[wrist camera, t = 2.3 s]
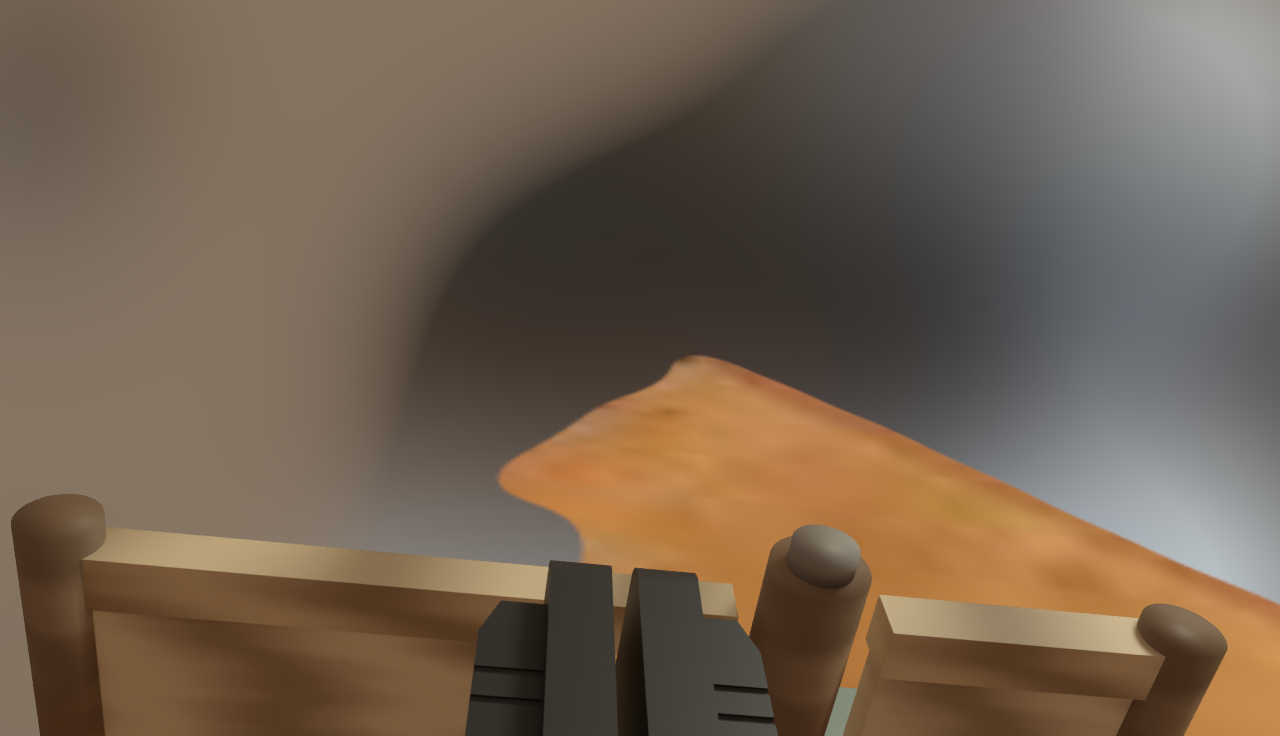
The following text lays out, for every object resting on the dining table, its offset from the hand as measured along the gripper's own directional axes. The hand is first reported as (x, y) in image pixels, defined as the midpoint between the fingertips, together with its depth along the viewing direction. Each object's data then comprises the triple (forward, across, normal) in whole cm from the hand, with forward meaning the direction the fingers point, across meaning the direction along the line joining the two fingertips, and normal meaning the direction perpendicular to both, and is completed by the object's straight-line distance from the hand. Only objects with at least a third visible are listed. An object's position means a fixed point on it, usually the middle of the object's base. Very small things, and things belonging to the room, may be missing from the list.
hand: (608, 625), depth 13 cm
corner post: (+10, -6, +22) cm, 25 cm away
